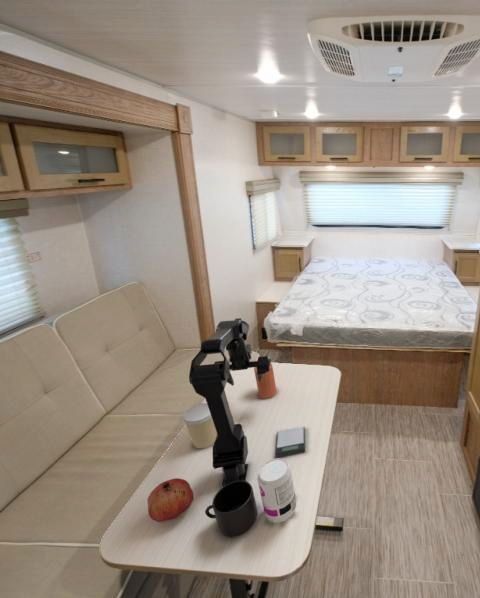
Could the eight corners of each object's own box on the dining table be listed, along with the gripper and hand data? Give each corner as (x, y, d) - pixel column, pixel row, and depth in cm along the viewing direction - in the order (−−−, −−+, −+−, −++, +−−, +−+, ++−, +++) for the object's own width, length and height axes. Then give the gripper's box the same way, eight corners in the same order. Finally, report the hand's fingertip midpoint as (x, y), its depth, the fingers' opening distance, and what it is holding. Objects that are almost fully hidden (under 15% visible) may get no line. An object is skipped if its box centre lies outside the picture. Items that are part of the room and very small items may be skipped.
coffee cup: (227, 430, 120) (220, 403, 116) (211, 451, 112) (203, 422, 107) (202, 428, 121) (194, 401, 117) (184, 449, 113) (175, 420, 108)
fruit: (204, 495, 97) (196, 469, 93) (182, 530, 88) (173, 503, 84) (167, 494, 98) (158, 468, 94) (142, 529, 88) (130, 501, 85)
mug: (214, 508, 94) (207, 484, 90) (260, 500, 96) (255, 477, 92) (203, 543, 85) (195, 518, 82) (254, 534, 87) (248, 509, 84)
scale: (305, 451, 112) (304, 447, 111) (276, 457, 110) (275, 452, 109) (304, 430, 121) (304, 425, 120) (278, 435, 119) (277, 430, 118)
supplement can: (264, 528, 89) (255, 486, 83) (266, 500, 96) (258, 460, 90) (296, 520, 91) (289, 479, 85) (296, 493, 98) (290, 453, 92)
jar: (275, 397, 137) (271, 370, 132) (258, 400, 136) (253, 372, 131) (277, 387, 143) (272, 361, 138) (260, 389, 142) (255, 363, 137)
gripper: (268, 333, 125) (275, 364, 133) (213, 338, 121) (223, 370, 130) (265, 354, 116) (272, 385, 124) (205, 360, 112) (217, 392, 121)
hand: (246, 382), depth 125 cm, fingers open, 9 cm apart
